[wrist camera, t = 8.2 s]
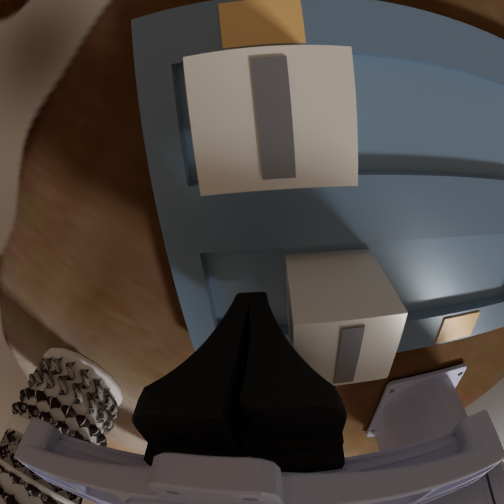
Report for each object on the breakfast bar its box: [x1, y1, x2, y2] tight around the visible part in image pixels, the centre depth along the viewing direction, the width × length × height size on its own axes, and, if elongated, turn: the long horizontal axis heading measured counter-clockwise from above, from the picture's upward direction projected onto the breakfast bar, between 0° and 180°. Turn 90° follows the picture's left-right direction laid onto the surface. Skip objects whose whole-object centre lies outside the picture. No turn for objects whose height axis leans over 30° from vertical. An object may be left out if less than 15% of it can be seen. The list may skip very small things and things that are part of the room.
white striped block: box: [183, 45, 358, 196], centre depth 8 cm, size 4×4×5 cm
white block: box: [285, 248, 408, 386], centre depth 12 cm, size 4×4×5 cm
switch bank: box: [131, 0, 504, 353], centre depth 12 cm, size 18×22×2 cm
